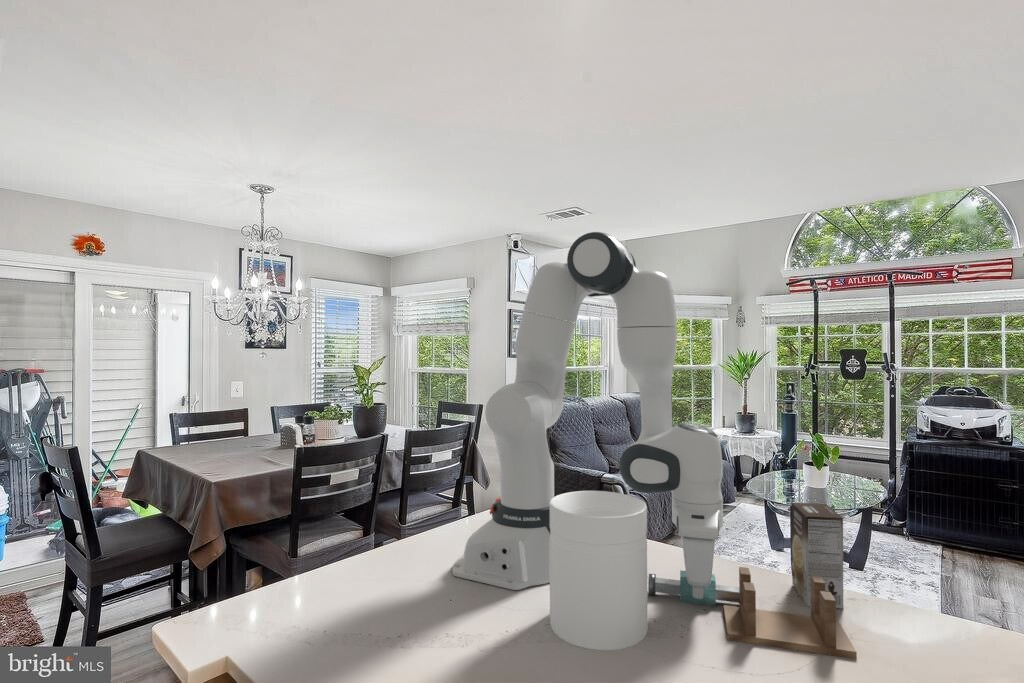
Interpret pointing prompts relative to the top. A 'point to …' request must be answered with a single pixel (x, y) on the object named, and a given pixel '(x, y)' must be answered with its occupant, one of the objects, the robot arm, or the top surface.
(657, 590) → the bar
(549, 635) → the top surface
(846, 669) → the top surface
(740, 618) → the rack
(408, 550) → the top surface
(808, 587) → the coffee box
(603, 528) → the canister
